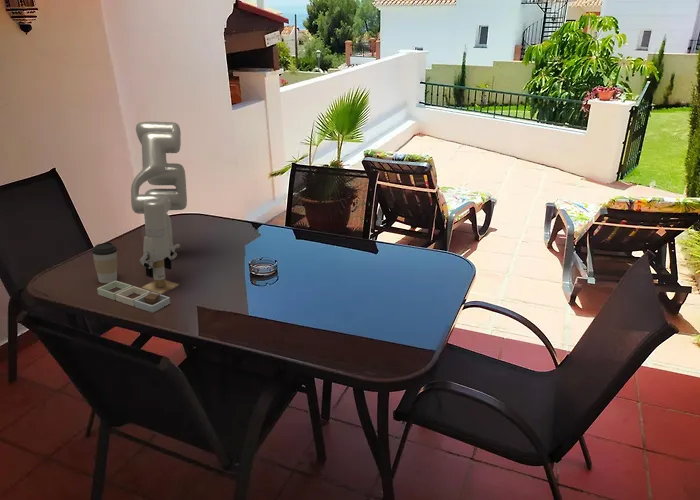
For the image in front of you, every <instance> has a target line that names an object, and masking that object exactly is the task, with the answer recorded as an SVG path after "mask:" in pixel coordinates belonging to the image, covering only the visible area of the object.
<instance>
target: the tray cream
mask: <svg viewBox="0 0 700 500" xmlns="http://www.w3.org/2000/svg"><path fill="white" fill-rule="evenodd" d="M149 293H151V292H150V291H148V290H144V289H141V287H137V286H134V285H132V287H131V288H128V289H126V290H124V291H122V292H120V293H117V294H116V301H115V302H120V303H122V304H125V305H128V306H131V307H135V300H137V299H139V298H141V297H143V296H145V295H147V294H149ZM133 294H136V295H139V296H136V297H134V298H130V297H129V296H131V295H133Z"/></svg>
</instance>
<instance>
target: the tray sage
mask: <svg viewBox="0 0 700 500" xmlns="http://www.w3.org/2000/svg"><path fill="white" fill-rule="evenodd" d="M131 287H133V285H131V284H129V283H125V282H122V281H118V280H116V281H113V282H111V283H105V284H104V285H102V286H99V287H97V288H96V289H97V295H98V296H101V297H103V298H104V297H105V298H108V299H110V300H113V301H115V300H116V294H117V293H120V292H122V291H124V290H126V289H128V288H131ZM116 288H117V289H120V290H116V291H115V292H112V290H113V289H116Z"/></svg>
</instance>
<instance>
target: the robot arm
mask: <svg viewBox="0 0 700 500" xmlns="http://www.w3.org/2000/svg"><path fill="white" fill-rule="evenodd" d="M135 131H136V136H137V139H138V141H139V143H140V145H141V158H142V159H141V163H142V169H141V170H140V171H139V172H138V173H137V175H136V176H135V178H134V179H133V180H132V183H131V188H130V199H131V200H130V204H131V209H132V211H133V212H134V213H135V214H136V215H137V214H138V215H143V216H144V227H145V229H144V230H145V235H144V237H143V243H142V246H143V247H142V249H143V250H142V253H143V255H142V256H141V258H140V259H139V262H140V264H141V266H143V268H145V276H146V277H148V278H151V279H154V276H153V263H154V262H157V261H159V260H161V259H162V258H163V259H164V269H167V270H172V260H174V259H175V258H177V257H178V253H177V251H176V249H179V248H181V244H180V243H176V244H173V230H172V219H171V216H170V215H169V214H168V212H170V211H182V210H185V209H186V208H187V205H188V197H187V196H188V195H187V180H186V178H187V177H186V171H185V167H184V166H183V165H182V164H180V163H174V162H173V163H172V162H171V163H170V162H169V163H168V162H167V154H178V153H179V152H180V150H181V145H182V143H181V141H182V140H181V136H182V135H181V127H180V125H179V124H178V123H177V122H172V121H141V122H138V123H137V124H136V126H135ZM146 182H148V184H150V185H151V186H174V187H175V188H151V189H150V188H149V189H148V190H146V192H144V194H143V193H142V194H141V193H140V194H139V192H140V188H141V186H142V185H143V184H144V183H146Z"/></svg>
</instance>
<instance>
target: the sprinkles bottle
mask: <svg viewBox="0 0 700 500" xmlns="http://www.w3.org/2000/svg"><path fill="white" fill-rule="evenodd" d="M152 268H153V281H154V286H155V287H164V286H165V285H166V281H167V280H166V268H165V267H164V259H163V258H162V259H161V260H159V261H157V262H154V263H153V265H152Z"/></svg>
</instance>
